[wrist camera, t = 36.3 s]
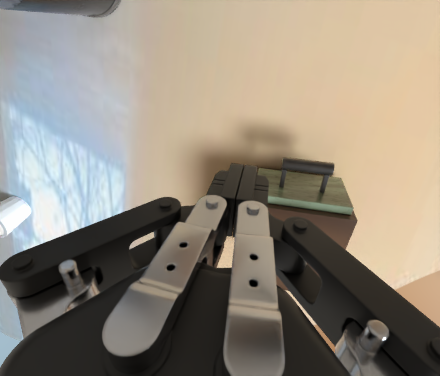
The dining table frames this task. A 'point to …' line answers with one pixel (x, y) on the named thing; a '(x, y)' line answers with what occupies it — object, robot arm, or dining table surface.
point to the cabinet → (318, 225)
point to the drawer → (307, 187)
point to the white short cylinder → (12, 214)
